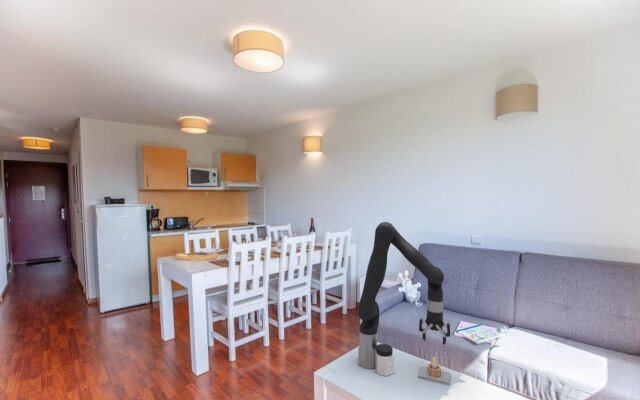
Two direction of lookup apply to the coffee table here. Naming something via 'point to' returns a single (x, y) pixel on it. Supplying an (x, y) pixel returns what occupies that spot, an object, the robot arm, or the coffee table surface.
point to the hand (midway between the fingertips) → (434, 342)
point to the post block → (443, 379)
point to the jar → (384, 359)
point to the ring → (434, 371)
